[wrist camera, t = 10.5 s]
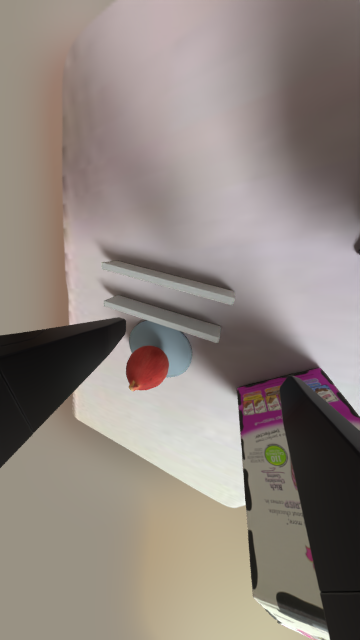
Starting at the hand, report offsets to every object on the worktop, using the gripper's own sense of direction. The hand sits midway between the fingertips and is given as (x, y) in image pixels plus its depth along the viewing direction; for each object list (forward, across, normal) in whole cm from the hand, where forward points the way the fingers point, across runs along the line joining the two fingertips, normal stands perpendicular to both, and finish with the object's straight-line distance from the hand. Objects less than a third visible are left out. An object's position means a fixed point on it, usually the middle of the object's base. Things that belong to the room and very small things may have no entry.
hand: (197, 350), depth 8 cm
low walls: (+12, +6, +2) cm, 14 cm away
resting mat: (+12, +6, +12) cm, 18 cm away
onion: (+12, +6, +11) cm, 17 cm away
